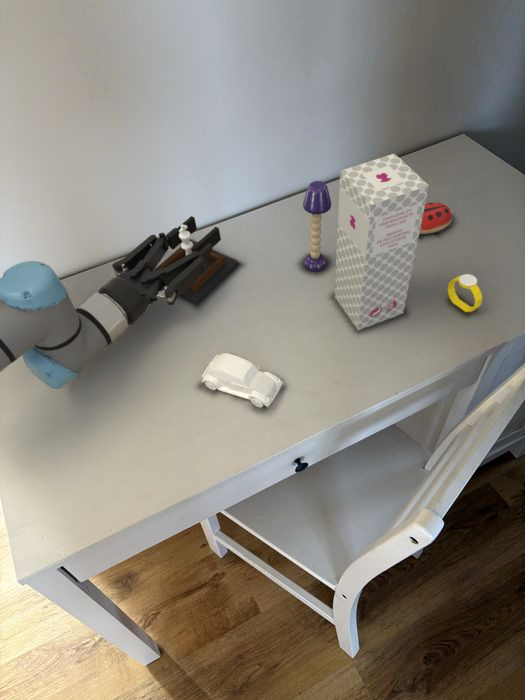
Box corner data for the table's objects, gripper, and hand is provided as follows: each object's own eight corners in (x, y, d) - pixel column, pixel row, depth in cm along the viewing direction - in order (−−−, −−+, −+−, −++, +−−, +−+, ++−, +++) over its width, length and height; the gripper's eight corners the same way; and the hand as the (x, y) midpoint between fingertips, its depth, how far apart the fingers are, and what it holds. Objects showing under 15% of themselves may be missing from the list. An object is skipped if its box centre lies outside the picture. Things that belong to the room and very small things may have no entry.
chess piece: (211, 265, 99) (202, 221, 91) (194, 281, 96) (184, 238, 88) (190, 255, 101) (180, 212, 93) (174, 271, 98) (161, 229, 90)
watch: (480, 312, 88) (490, 287, 83) (468, 320, 87) (477, 295, 83) (453, 291, 91) (460, 266, 87) (441, 299, 91) (448, 273, 86)
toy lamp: (308, 252, 100) (307, 175, 87) (332, 256, 99) (335, 178, 86) (300, 269, 98) (298, 192, 84) (325, 274, 96) (327, 196, 83)
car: (199, 385, 84) (194, 368, 80) (220, 356, 87) (216, 338, 83) (267, 414, 79) (264, 397, 76) (286, 383, 83) (284, 365, 79)
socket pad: (148, 279, 99) (144, 270, 97) (190, 242, 104) (188, 232, 102) (197, 305, 94) (194, 295, 92) (238, 265, 100) (237, 255, 98)
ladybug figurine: (395, 220, 104) (397, 205, 101) (440, 207, 105) (444, 192, 102) (412, 241, 100) (414, 226, 97) (459, 227, 101) (463, 212, 98)
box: (358, 330, 88) (371, 204, 68) (334, 296, 93) (340, 170, 73) (403, 313, 89) (428, 185, 70) (377, 280, 94) (394, 153, 75)
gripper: (83, 302, 92) (173, 227, 103) (159, 347, 85) (247, 261, 96) (68, 271, 87) (165, 194, 97) (147, 316, 79) (243, 228, 90)
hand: (205, 228), depth 96 cm, fingers open, 5 cm apart
